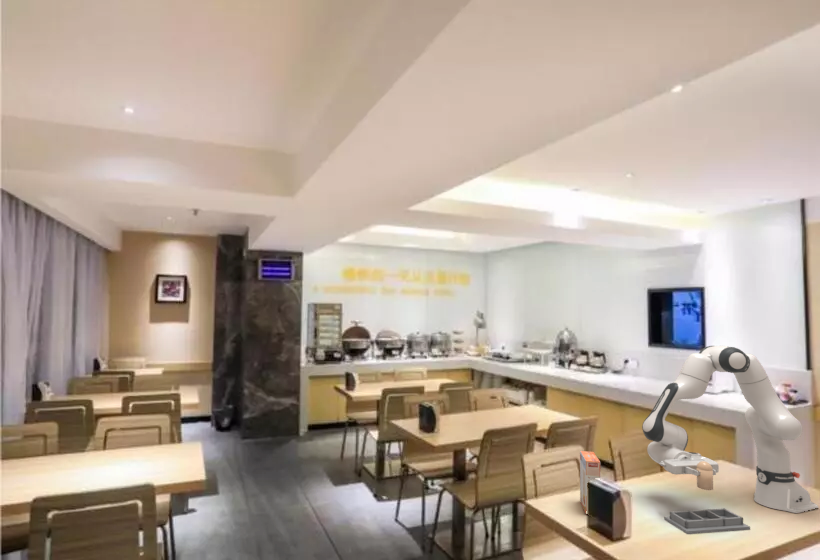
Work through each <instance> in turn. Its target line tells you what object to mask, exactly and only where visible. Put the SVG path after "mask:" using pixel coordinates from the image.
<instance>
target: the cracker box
mask: <svg viewBox="0 0 820 560" xmlns="http://www.w3.org/2000/svg"><path fill="white" fill-rule="evenodd" d="M579 463H580V464H579V471H580V473H579V474H580V476H579V478H580V479H579V480H580V481H579V484H580V485H579V487H580V488H579V493H580V494H579V496H580V497H579V498H580V499H579V501H581V502H580V504H581V507H582V506H583V507H582V509H583V508H584V509H583V512H584V513H586V511H587V483H588V481H590V480H592V479H595V478H600V479H601V461H600V459H599V458H598V456H597V455H596V453H595V452H594V451H585V450H584V451H583V450H580V451H579Z"/></svg>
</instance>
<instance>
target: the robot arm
mask: <svg viewBox="0 0 820 560" xmlns="http://www.w3.org/2000/svg"><path fill="white" fill-rule="evenodd" d="M715 372H720V373H731V374H734V376H735V378H736V382H737V384H738V385H739V388H740V390H741V391H740V392H741V393H742V395H743V397H744V399H745V401H746V402H747V403H748V404H749V405H750V406H751V407H748V408H747V409H746V411H745V413H744V420H745V422H746V423H747V425H748V426H749V428H750V430H751V433H752V437H753V440H754V443H755V447H756V459H757V460H756V461H757V462H756V463H757V466H755V467H756V469H755V471H756V474H755V475H756V477H757V478H756V481H755V491H754V493H753V496H754V497H753V500H754V502H756V503H757V504H759V505H762V506H764V507H767V508H770V509H775V510H780V511H784V512H788V513H792V514H799V513H805V512H809V511H808V510H810V511H812V510H811V509H815V508H819V505H818V504H816V503H815V502H813V501H811V495H810V493H809V491H808V490H807V489H806V488H804V487H803V486H802V485H801V484H799V482H797V481H796V480H795V478H797V479H800V478H801V474H800V473H799V472H795V471H791V454H790V451H789V449H788V448H787V447H786V445H785V443H784V441H795V440H798V439H799V438H800V437H801V435H802V434H803V430H804V429H803V425H802V423H801V421H800V420H799V419H797V418H796V417H795V416H794V414H792V413H791V412H790V411H789V409H788V408H787V406H786V405H785V404H784V403H783V401H782V400H781V399H780V397H779V396H778V394H777V393H776V391H775V389H774V387H773V385H772V383H771V381H770V378H769V376H768V374H767V372H766V370H765V368H764V367H763V365H762V363H761V362H760V361H759V359H758V358H757V357H756V356H755V355H754V354H751V353H745V352H744V351H743V350H741V349H740V348H738V347H735V346H726V345H709V346H705V347H704V348H702V349H701V350H700V351H699V352H693V353H690V354H689V355H688V356H687V358H686V360H685V361H684V363H683V364H682V367H681V369H680V371H679V374H678V376H677V378H676V379H675V380H674V381H673V382H670V383H669V384H667V385H666V387H665V388H664V389H663V391H662V393H660V396H659V398H658V399H657V401H656V403H655V405H654V406H653V408H652V410H651V412H650V413H649V414H648V415H647V417H646V418H645V419H644V420H643V422H642V426H641V429H642V432H643V435H644V436H645V438H646V439H647V440H648V441H650V443H649V444H648V445H647V447H646V448H647V454H648V455H649V457H650V459H652V461H654V462H655V463H657V464H659V465H660V466H661V467H663V468H664V470H665V471H667V472H668V473H670V474H672V475H675V476H676V475H694V476H695V477H697V476H700V475H701V474H700V471H698V470H697V464H698V463H699V462H701V461H705V462H708V463H709V464H710V465H711V466H712V468H713V476H716V475H717V473H719V463H718V462H717V461H715V460H714V459H713V460H712V459H711V458H708V457H705V456H702V454H701V453H699V452H693V451H692V452H691V451H690V452H689V451H686V448H687V446H688V442H689V434H688V433H687V431H686V430H687V429H685V428H684V427H682V426H680V425H678V424H675V423H672V422H670V421H667V420H666V418H667V416H668V414H669V412H670V410H671V409H672V407H673V405H674V404H675V403H676V402H677V401H680V400H681V401H682V400H695V399H696V400H697V399H698V398H701V397H702V396H703V395H704V394H705V392H706V391H707V388H708V386H709V384H710V383H709V382H710V379H711V377H712V375H713V374H714V373H715ZM815 510H816V509H815ZM804 511H805V512H804Z"/></svg>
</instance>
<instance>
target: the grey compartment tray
mask: <svg viewBox="0 0 820 560" xmlns="http://www.w3.org/2000/svg"><path fill="white" fill-rule="evenodd" d="M663 520H664V521H666V522H667V523H669V524H670V525H672V526H674V528H677V529H678V530H680V531H681V532H683V533H685V534H686V535H693V534H708V533H709V534H710V533H721V532H735V531H736V532H738V531H749V530H751V526H749V525H748V524H746V523H745V522H744V518H743V517H742V516H740V515H738V514H736V513H734V512H732V511H731V510H729V509H727V508H712V509H711V508H710V509H708V508H707V509H696V510H695V509H694V510H680V511H679V510H678V511H676V510H675V511H669V516H664V517H663Z"/></svg>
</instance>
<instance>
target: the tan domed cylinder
mask: <svg viewBox="0 0 820 560" xmlns="http://www.w3.org/2000/svg"><path fill="white" fill-rule="evenodd" d="M697 470H698V471H700V474H701V475H700V476H696V487H697V488H698V489H701V490H706V491H713V490H714V475H713V468H712V466H711V465H710V464H709V463H708V462H705V461H701V462H699V463H698V464H697Z"/></svg>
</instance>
